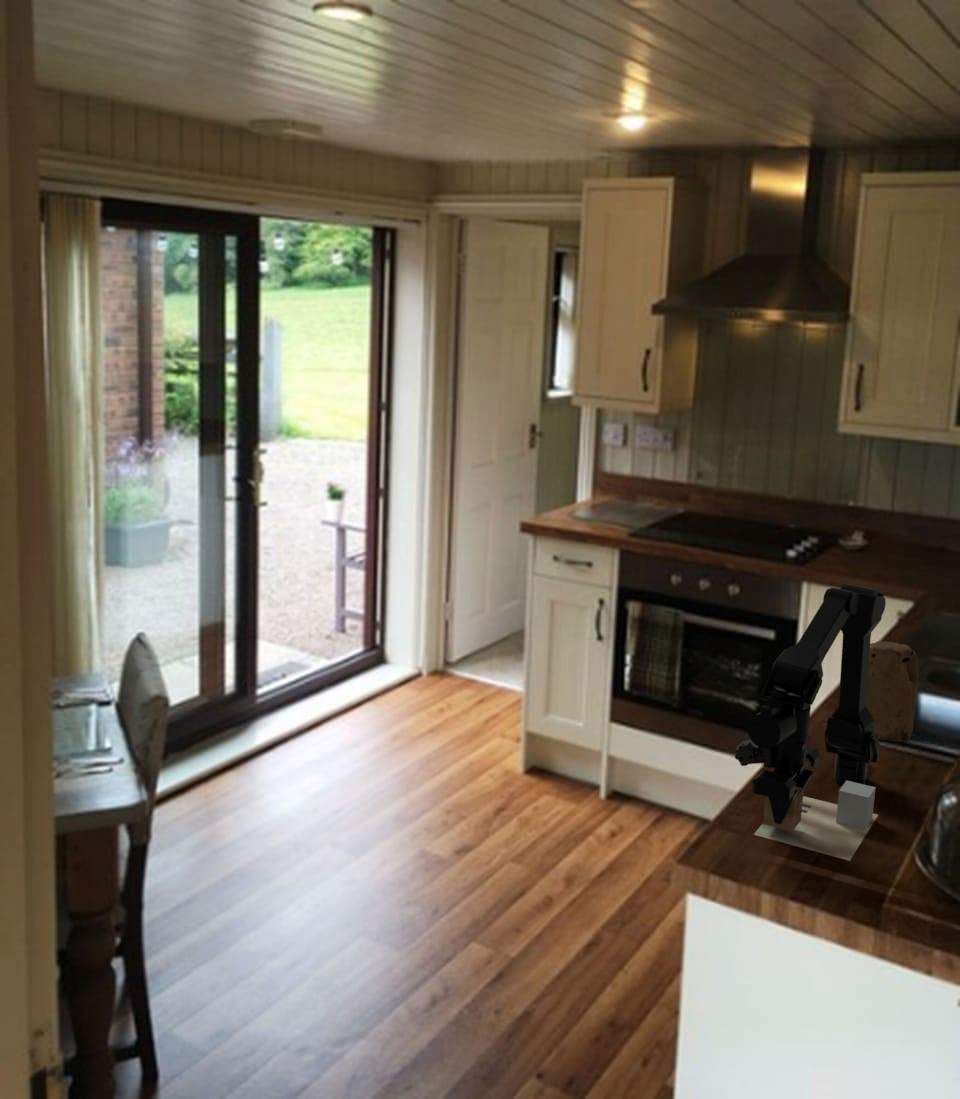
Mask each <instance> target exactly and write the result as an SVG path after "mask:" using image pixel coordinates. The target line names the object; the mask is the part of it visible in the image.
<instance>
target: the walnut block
mask: <svg viewBox="0 0 960 1099" xmlns="http://www.w3.org/2000/svg"><path fill="white" fill-rule="evenodd" d="M795 790H798V793H797V794H796V796H795V798H794V800H793V802H792V804H791V806H790V808H789V810H788V812H787V814H786V816H785V817H784V819H783V821H782V823H781V824H777V823H775V822H774V818H773V814H772V809H771V805H770V801H769V797H767V796H764V808H763V820H762V824H765V825H768V826H772V827H776V828H780V829H783V830H787V831H791V832H792V831H793V830H794V829H795V828H796V826H797V825H798V824H799V822H800V821H801V813H802V803H803V796H804V792H805V787H804V788H802V787H798V786H796V788H795Z"/></svg>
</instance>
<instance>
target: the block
mask: <svg viewBox="0 0 960 1099" xmlns="http://www.w3.org/2000/svg"><path fill="white" fill-rule="evenodd" d="M919 668H920V667H919V660H918V655H917V653H916V652H915V650H914V649H912V647H910V645H908V644H904V643H902V644H900V643H898V642H895V641H894V642H893V641H883V640H879V641H875V642H870V653H869V667H868V681H867V696H866V707H867V709H868V711H869V713H870V714H871V716H872V718H873V720H874V733H875V734H876V737H877V739H878V740H881V741H889V742H898V743H901V742H906V741H909V740H910V739H911V736H912V734H913V729H914V723H915V712H916V704H917V693H918V684H919V670H920V669H919Z"/></svg>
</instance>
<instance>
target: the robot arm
mask: <svg viewBox="0 0 960 1099" xmlns="http://www.w3.org/2000/svg"><path fill="white" fill-rule="evenodd" d="M886 605H887V604H886V598H885V596H884V593H881V590H880V589H877V588H870V587H868V586H867V587H865V586H861V585H855V584H850V583H844V584H842V586H841V587H840V588H839V587H830V588H827V589H826V590H825V593H824V595H823V599H822V603H821V604H820V605H819V607H818V609H817V611H816V612H815V614H814V615H813V618H812V619H811V621H810V622H809V624H808V625H807V627H806V629H805V631H804V632H803V634H802V636H801V637H800V638H799V641H798V642H797V643H796V644H793V645H792V646H789V647H787V648H785V649H784V650H783V651H782V652H781V653H780V655H779V656H778V657H777V658H776V660H775V661H773V663H772V664H771V666H770V668H769V672H768V675H767V677H766V679H765V682H764V685H763V688H762V690H761V692H760V696H759V699H760V700H763V701H767V704H763V705H762V706H761V707H760V712H758V713H756V714H755V715H754V716H752V717H751V718H750V719H749V722H748V723H747V726H746V728H747V729H746V730H747V734H748V738H749V739H746V740H743V741H741V742H740V743H739V744H738V745H737V746H736V748H735V755H734V759H735V760H737V761H738V762H739V763H740V766H742V767H746V766H748V765H754V764H756V765H757V764H762V763H763V768H768V769H773V771H770V770H766V769H764V770H763V771H761V772H759V774H758V775H757V776H755V778H754V779H753V780H752V783H751V792H752V793H753V794H756V795H758V796H764V797H765V796H767V797H769V801H770V805H771V809H772V814H773V818H774V822H775V823H777V824H781V823H782V821H783V819H784V817H785V816H786V814H787V812H788V810H789V808H790V806H791V804H792V802H793V800H794V798H795V796H796V794H797V793H798V790H795V788H796V786H798V787H802V788H804V789H805V788H806V786H807V784H808V783H809V780H810V778H811V777H812V776H813V774H814V771H813V770H810V769H806V768H807V767H808V766H809V763H810V768H811V769H814V770H815V769H816V768H817V767H818V766H819V765H820V757H821V756H820V755H821V754H820V752H819V751H818V750H817V748H816V747H811V746H808V745H809V744H810V743H811V740H812V735H809V730H810V721H811V720H810V719H811V709H812V707H811V706H812V705H813V704H814V702H815V699H816V698H817V695H818V693H819V691H820V689H821V686H822V684H823V677H824V671H823V666H822V665H823V661H824V660H825V658H826V655H827V654H828V652H829V651H830V649H831V647H832V645H833V644H834V642H835V640H836V639H837V637H838V636H839V633H840V632H841V633H842V646H841V662H840V676H839V677H840V678H839V690H838V692H839V694H838V695H839V696H838V707H837V708H836V709H835V711H834V712H832V714H831V716H829V717H828V718H827V721H826V727H825V729H824V739H825V740H824V741H825V750H826V752H827V753H832V754H835V762H834V763H835V764H834V772H833V780H834V781H835V782H836V785H837V786H838V787H840V788H841V787H842V786H843V785H844V783H845V782H846V780H847V781H851V782H855V783H859V784H864V785H866V779H867V771H868V765H870V764H871V763H878V762H879V757H880V755H881V748H882V747H881V746H882V745H881V743H880V741H879V739H877V737H876V734H875V733H874V720H873V718H872V716H871V714H870V713H869V711H868V709H867V707H866V696H867V681H868V667H869V653H870V644H871V638H872V637H871V636H872V632H873V631H874V629H875V628H876V627H878V624H880V623H881V621H882V619H883V618H882V617H883V614H884V613H885V610H886V609H885V608H886ZM774 688H775V689H776V690H774ZM777 690H778V691H777ZM779 691H782V692H779ZM783 692H786V693H787V694H786V693H783Z"/></svg>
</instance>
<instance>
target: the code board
mask: <svg viewBox="0 0 960 1099" xmlns="http://www.w3.org/2000/svg"><path fill="white" fill-rule="evenodd" d="M837 806H838V803H832V802H829V801H825V800H820V799H816V798H813V797H812V798H811V797H808V796H806V795H805V796H804V795H803V803H802V813H801V821H800V822H799V824H798V825H797V826H796V828H795V829H794V830H793V831H792V832H791V831H787V830H783V829H780V828H776V827H772V826H768V825H765V824H763V823H761V825H759V827H758V829H757V830H756V831H755V832H754V834H753V835H755V836H758V837H762V838H765V839H769V840H773V841H776V842H781V843H783V844H787V845H790V846H791V845H792V846H794V847H799V848H802V849H805V850H808V851H813V852H817V853H821V854H824V855H827V856H831V857H834V858H838V859H841V860H842V859H843V860H846V861H851V860H852V858H853V857H854V855H855V853H856V852H857V850H858V848H859V847H860V845H861V844H862V841H863V840H864V839H865V837H866V835H867V834H868V833H869V831H870V829H871V827H872V826H873V824H874V823H875V821H876V820H877V818H878V817H879V814H877V813H873V816H872V820H871V822H870V823H869V825H868V827H867V828H866V830H863V829H859V828H855V827H851V826H847V825H844V824H840V823H836V816H837Z"/></svg>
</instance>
